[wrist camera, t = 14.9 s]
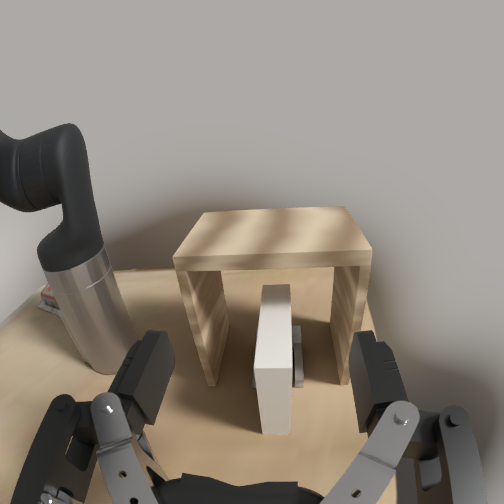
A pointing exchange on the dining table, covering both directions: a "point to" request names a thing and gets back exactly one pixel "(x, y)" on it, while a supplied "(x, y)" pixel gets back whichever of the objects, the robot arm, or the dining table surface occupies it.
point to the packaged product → (49, 301)
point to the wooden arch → (272, 257)
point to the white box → (274, 360)
